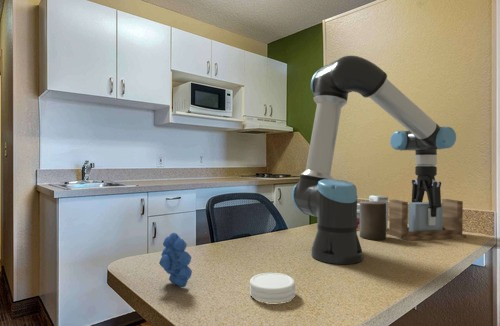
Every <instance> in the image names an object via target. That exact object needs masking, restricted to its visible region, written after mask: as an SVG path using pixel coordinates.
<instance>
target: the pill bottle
mask: <svg viewBox="0 0 500 326" xmlns="http://www.w3.org/2000/svg"><path fill="white" fill-rule="evenodd" d="M357 231H358V232H360V203H357Z"/></svg>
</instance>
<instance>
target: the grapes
mask: <svg viewBox="0 0 500 326" xmlns="http://www.w3.org/2000/svg"><path fill="white" fill-rule="evenodd" d="M162 245H163V247H164V249H162V252H161V258H160V259H159V263H158V264H159V265H160V266H161V268H162V269H163V270H164V271H165V272H166V274H169V277H168V280H169V282H170V283H172V285H174V284H177V285H176V286H178V287H179V286H180V288H181V287H183V288H185V287H186V286H187V284H188V281H189V280H190V279H191V276H192V273H193V270H192V269H191V267H189V265H190V263H191V261H192V256H191V254H190V253H189V252H187V251H186V249H187V245H188V243H187V242H186V241H185V240H184V239H183V238H181V237H180V235H179V234H177V233H176V232H171V233H170V234H169V235H168V236H166V237H165V238H164V241H163V242H162Z"/></svg>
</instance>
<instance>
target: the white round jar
mask: <svg viewBox="0 0 500 326" xmlns="http://www.w3.org/2000/svg"><path fill="white" fill-rule="evenodd" d="M250 295H251V296H252V297H253V298H255V299H257V300H260V301H263V302H268V303H281V302H287V301H290V300H292V299H293V298H294V297H296V281H295V280H294V278H293V277H291V276H289V275H287V274H285V273H279V272H263V273H258V274H255V275H253V276H252V277H251V278H250V280H249V296H250ZM251 296H250V297H251ZM294 299H295V298H294ZM294 299H293V300H294ZM293 300H292V301H293ZM290 302H291V301H290Z"/></svg>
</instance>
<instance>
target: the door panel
mask: <svg viewBox="0 0 500 326" xmlns="http://www.w3.org/2000/svg"><path fill="white" fill-rule="evenodd" d="M428 207H430V206H429V201H427V202H425V201H424V202H423V201H422V202H413V203H412V202H408V227H409V231H434V230H442V227H443V203H442V202H441V207H439V208H437V209H436V225H428Z"/></svg>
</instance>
